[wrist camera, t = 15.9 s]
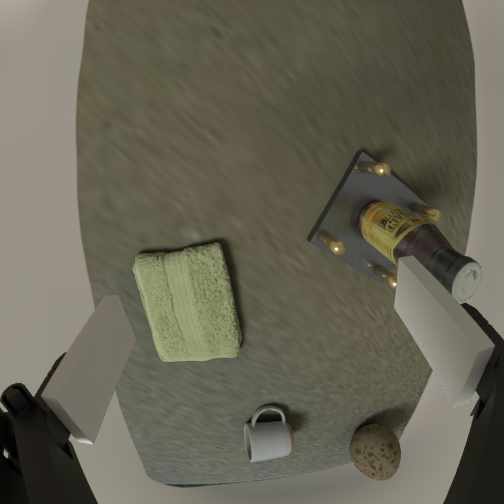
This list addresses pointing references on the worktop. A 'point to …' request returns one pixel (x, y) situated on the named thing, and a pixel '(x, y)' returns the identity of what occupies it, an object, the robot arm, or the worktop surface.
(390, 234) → the sauce bottle
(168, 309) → the washcloth
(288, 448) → the ceramic mug
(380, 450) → the decorative egg
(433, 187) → the worktop surface
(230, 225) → the worktop surface
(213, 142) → the worktop surface
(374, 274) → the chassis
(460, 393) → the robot arm
